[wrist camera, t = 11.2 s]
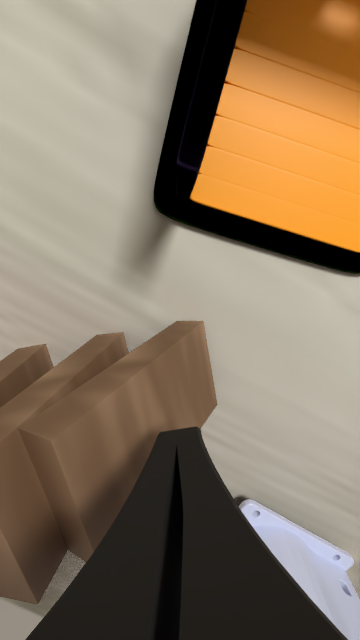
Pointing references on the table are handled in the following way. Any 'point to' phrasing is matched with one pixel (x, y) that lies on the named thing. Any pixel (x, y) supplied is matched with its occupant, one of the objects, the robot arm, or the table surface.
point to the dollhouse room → (269, 128)
